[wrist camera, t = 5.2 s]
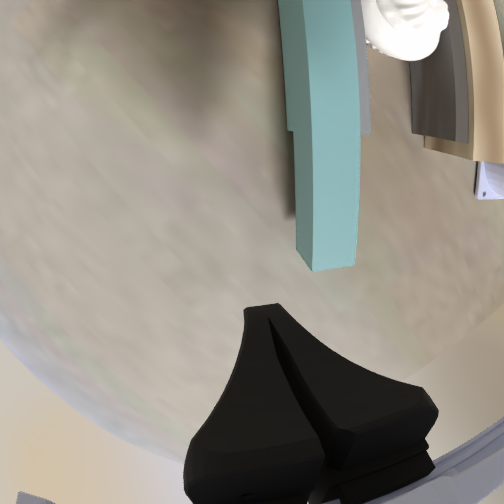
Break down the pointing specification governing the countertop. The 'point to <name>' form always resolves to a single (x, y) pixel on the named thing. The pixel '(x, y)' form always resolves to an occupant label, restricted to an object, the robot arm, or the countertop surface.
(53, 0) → the countertop surface
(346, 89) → the movable jaw
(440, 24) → the white ribbed dome
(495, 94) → the wooden block
